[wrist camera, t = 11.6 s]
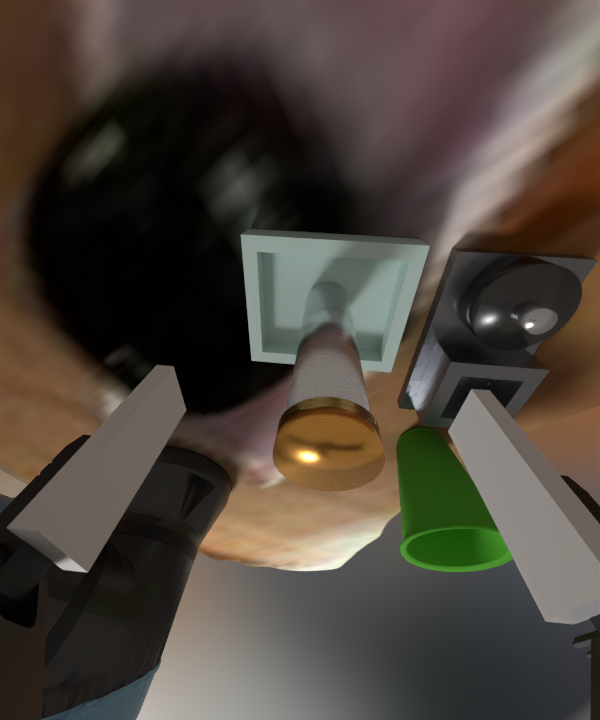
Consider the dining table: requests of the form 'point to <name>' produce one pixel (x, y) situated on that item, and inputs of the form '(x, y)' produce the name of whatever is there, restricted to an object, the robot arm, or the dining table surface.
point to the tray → (335, 264)
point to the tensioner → (490, 329)
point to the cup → (443, 509)
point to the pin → (328, 402)
